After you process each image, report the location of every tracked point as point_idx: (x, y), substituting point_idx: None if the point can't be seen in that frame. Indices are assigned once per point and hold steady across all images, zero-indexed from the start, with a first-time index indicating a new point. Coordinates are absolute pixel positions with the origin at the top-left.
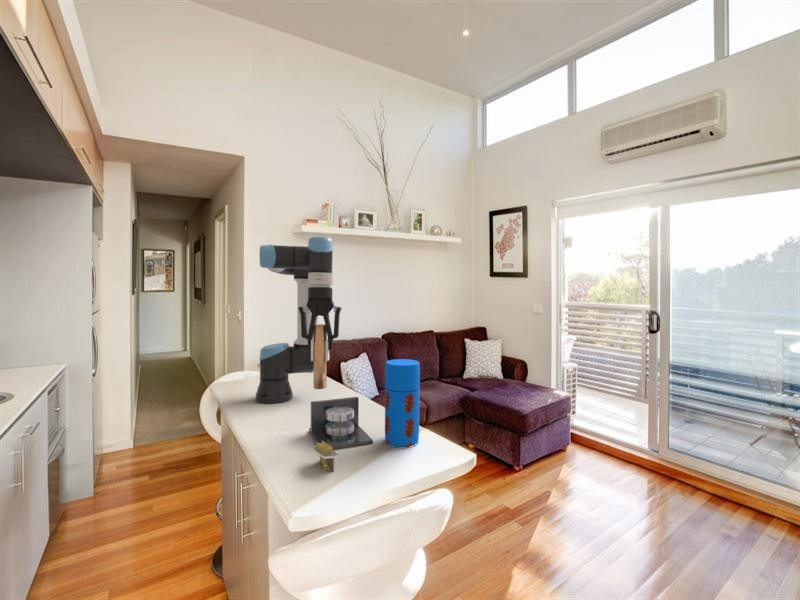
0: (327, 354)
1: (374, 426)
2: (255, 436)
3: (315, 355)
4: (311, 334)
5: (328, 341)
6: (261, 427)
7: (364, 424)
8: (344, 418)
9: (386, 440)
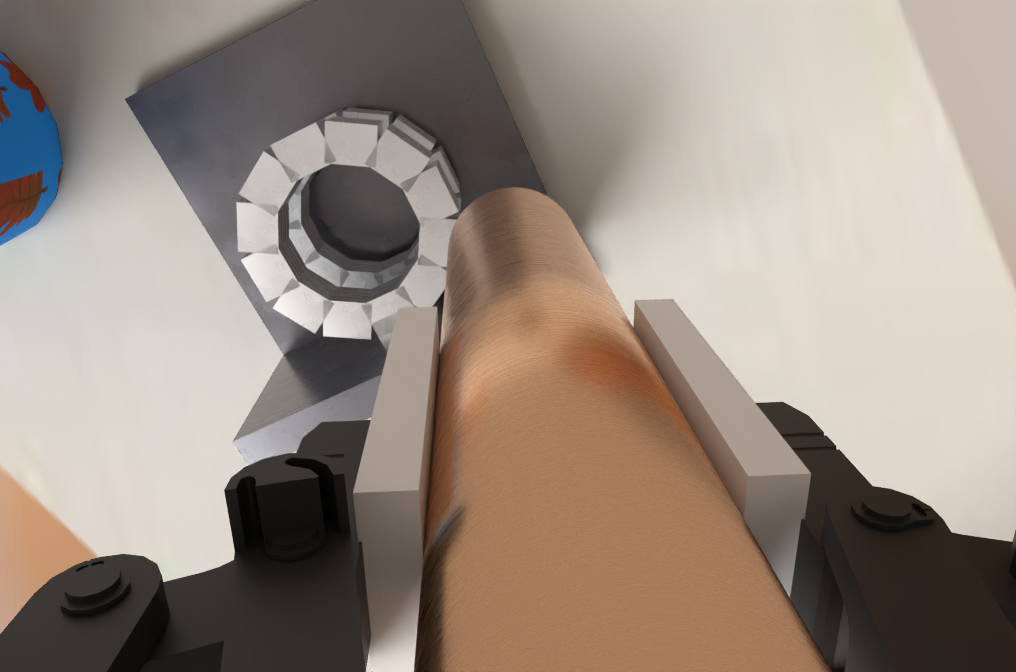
0: (397, 350)
1: (192, 383)
2: (897, 182)
3: (612, 316)
4: (873, 587)
5: (358, 520)
6: (888, 329)
7: None
8: (293, 133)
9: (30, 95)
